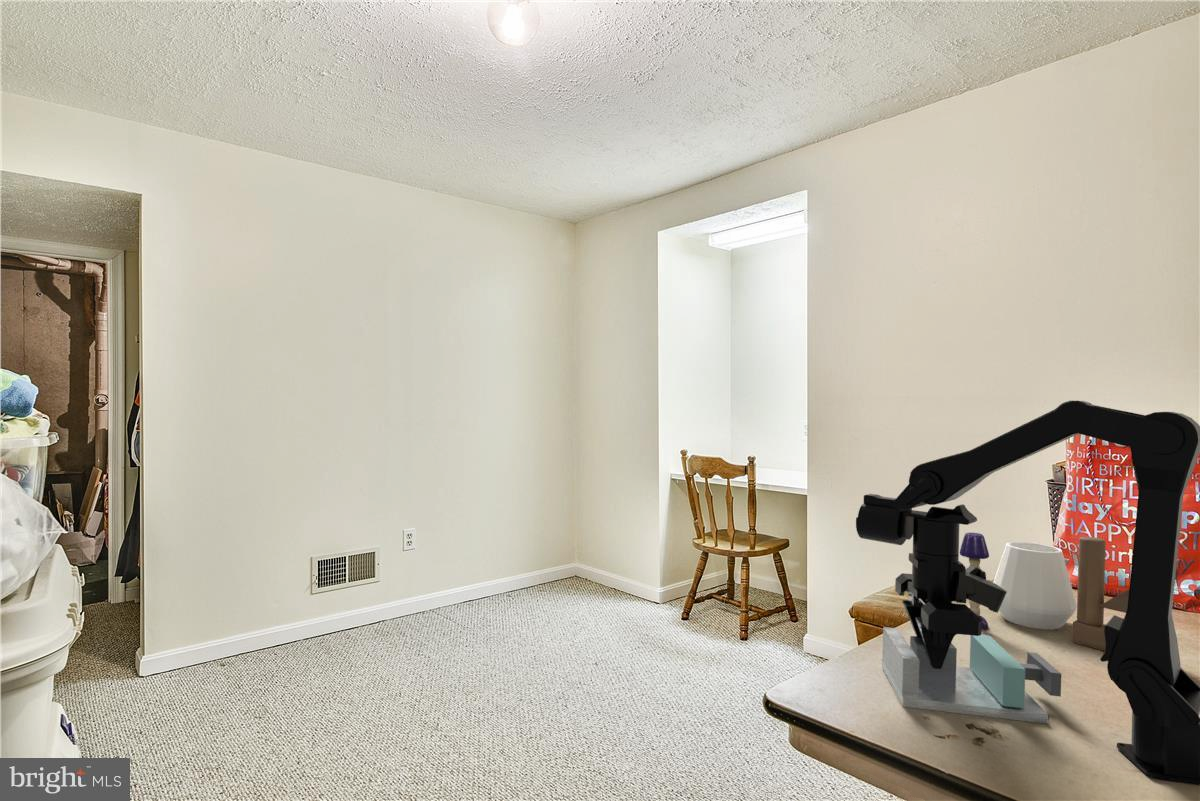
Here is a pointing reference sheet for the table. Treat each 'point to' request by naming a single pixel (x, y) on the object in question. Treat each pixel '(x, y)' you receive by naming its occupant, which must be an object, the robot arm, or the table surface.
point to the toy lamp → (975, 561)
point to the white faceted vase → (1035, 586)
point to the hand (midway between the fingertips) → (932, 662)
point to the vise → (963, 699)
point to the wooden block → (1093, 595)
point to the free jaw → (1010, 671)
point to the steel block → (928, 673)
